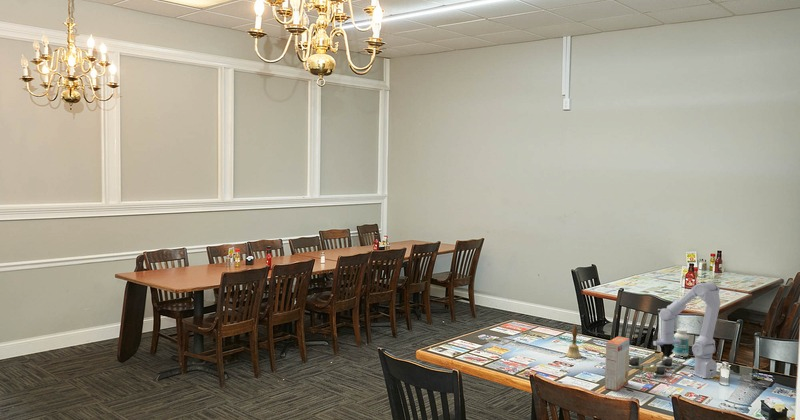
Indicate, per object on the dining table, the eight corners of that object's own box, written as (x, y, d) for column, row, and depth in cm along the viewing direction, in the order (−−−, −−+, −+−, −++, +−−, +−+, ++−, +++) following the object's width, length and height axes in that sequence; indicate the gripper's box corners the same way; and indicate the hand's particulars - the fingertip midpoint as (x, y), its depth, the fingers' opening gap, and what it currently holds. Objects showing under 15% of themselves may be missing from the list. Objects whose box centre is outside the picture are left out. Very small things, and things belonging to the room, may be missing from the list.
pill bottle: (672, 355, 334) (673, 330, 333) (673, 352, 340) (674, 327, 339) (687, 358, 330) (689, 332, 329) (688, 354, 337) (690, 329, 336)
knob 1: (639, 363, 315) (639, 355, 315) (638, 366, 311) (638, 358, 310) (616, 360, 319) (616, 352, 319) (615, 362, 315) (615, 355, 315)
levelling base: (690, 375, 302) (690, 370, 302) (651, 378, 297) (651, 373, 296) (662, 362, 321) (662, 358, 321) (625, 365, 316) (625, 360, 316)
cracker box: (615, 380, 293) (617, 335, 291) (628, 383, 289) (630, 338, 287) (603, 388, 282) (605, 341, 280) (617, 391, 278) (619, 344, 276)
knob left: (660, 370, 304) (660, 363, 303) (666, 374, 299) (667, 366, 299) (640, 372, 301) (641, 364, 301) (647, 375, 296) (647, 367, 296)
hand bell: (580, 354, 334) (581, 323, 332) (583, 358, 325) (584, 327, 324) (564, 353, 334) (565, 323, 333) (566, 358, 326) (567, 327, 325)
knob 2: (674, 365, 312) (674, 358, 312) (666, 366, 311) (666, 358, 311) (659, 359, 323) (660, 351, 322) (651, 359, 321) (652, 352, 321)
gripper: (674, 329, 325) (673, 355, 326) (649, 330, 321) (648, 357, 322) (684, 332, 318) (682, 359, 319) (659, 334, 314) (657, 361, 315)
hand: (666, 358), depth 320 cm, fingers closed
